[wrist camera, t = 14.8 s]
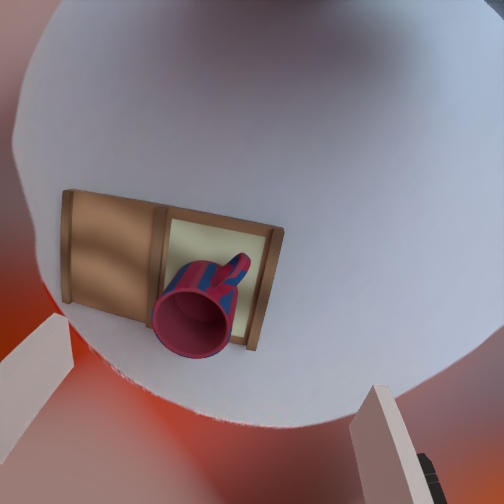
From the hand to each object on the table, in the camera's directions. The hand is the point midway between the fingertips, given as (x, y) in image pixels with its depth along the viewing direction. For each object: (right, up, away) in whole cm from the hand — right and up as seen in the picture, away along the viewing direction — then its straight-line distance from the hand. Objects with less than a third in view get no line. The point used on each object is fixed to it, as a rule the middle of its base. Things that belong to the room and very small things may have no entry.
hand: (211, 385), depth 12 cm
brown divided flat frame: (-8, +4, +20) cm, 22 cm away
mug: (-2, +2, +19) cm, 19 cm away
